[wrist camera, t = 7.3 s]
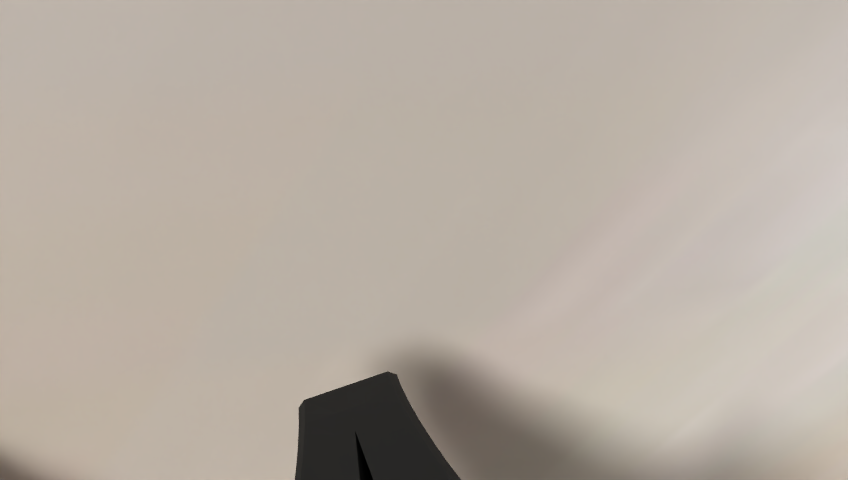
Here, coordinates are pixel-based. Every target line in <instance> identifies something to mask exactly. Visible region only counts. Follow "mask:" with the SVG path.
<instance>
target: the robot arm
mask: <svg viewBox="0 0 848 480" xmlns="http://www.w3.org/2000/svg"><path fill="white" fill-rule="evenodd" d="M295 480H461V479H460V478H459V477H458V475H457V474H456V473H455V472H454V470H453V469H452V468H451V466H450V465H449V464H448V462H447V461H446V460H445V458H444V457H443V455H442V454H441V452H440V451H439V450H438V448H437V447H436V445H435V444H434V442H433V441H432V439H431V438H430V436H429V435H428V433H427V432H426V430H425V428H424V427H423V425H422V424H421V422H420V421H419V419H418V417H417V415H416V414H415V412H414V410H413V409H412V407H411V405H410V403H409V401H408V399H407V397H406V395H405V393H404V391H403V389H402V387H401V385H400V382H399V379H398V377H397V375H396V374H393V373H390V372H385V373H382V374H379V375H376V376H373V377H370V378H367V379H364V380H361V381H359V382H356V383H353V384H350V385H347V386H344V387H341V388H338V389H335V390H332V391H329V392H326V393H323V394H320V395H318V396H315V397H312V398H309V399H306V400H304V401H303V403H302V404H301V406H300V407H299V437H298V454H297V465H296V475H295Z"/></svg>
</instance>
